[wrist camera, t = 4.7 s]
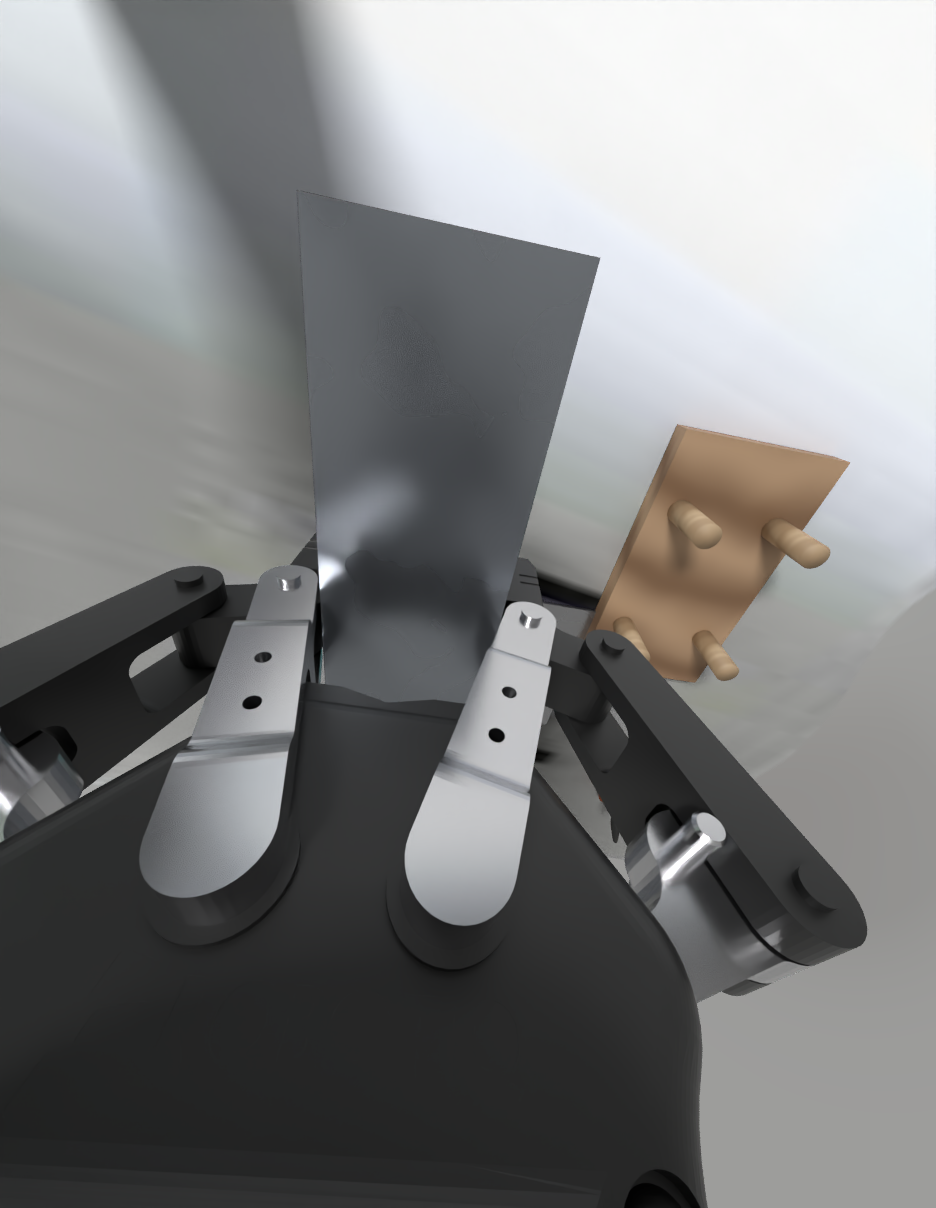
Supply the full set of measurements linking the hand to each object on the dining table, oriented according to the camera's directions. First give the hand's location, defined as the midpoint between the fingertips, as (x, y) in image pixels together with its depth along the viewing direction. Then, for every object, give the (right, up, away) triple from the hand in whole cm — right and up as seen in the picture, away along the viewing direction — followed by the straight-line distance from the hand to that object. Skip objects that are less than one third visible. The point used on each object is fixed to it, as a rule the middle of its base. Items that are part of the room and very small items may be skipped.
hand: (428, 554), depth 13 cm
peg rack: (+19, +1, +18) cm, 26 cm away
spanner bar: (0, -1, +1) cm, 2 cm away
